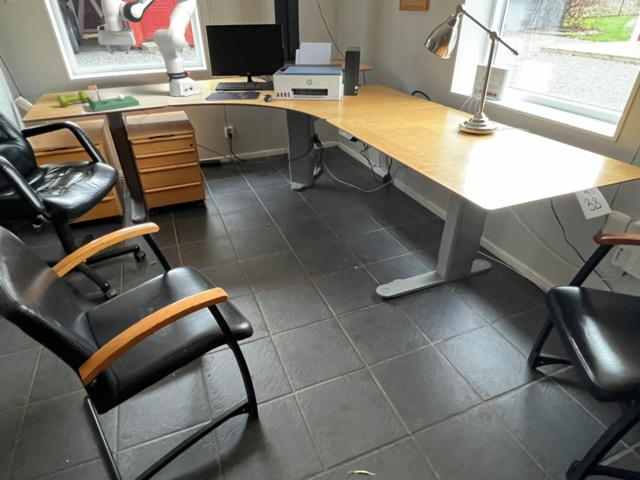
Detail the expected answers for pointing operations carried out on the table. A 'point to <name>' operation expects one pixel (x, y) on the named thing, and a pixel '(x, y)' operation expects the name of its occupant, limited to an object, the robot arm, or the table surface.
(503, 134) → the table surface
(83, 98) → the dumbbell
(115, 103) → the putting mat
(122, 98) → the ball
